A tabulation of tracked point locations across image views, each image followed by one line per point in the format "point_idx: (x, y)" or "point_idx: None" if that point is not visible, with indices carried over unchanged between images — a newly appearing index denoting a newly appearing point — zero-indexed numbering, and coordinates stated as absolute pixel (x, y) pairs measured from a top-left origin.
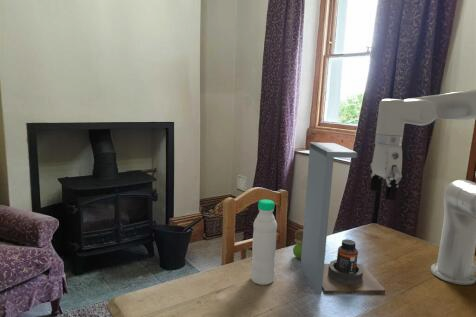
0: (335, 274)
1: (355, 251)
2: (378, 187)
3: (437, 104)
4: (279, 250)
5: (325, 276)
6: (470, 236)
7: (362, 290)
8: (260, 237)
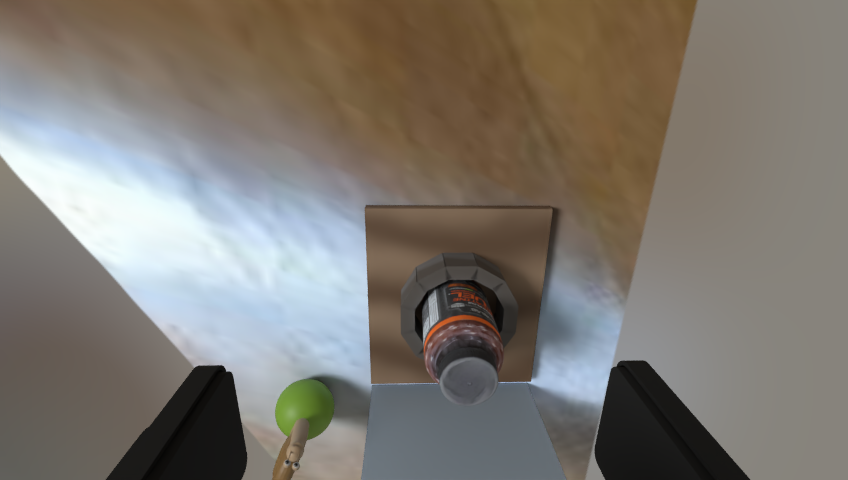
0: None
1: (495, 344)
2: (217, 420)
3: None
4: (259, 437)
5: None
6: None
7: (543, 281)
8: None
